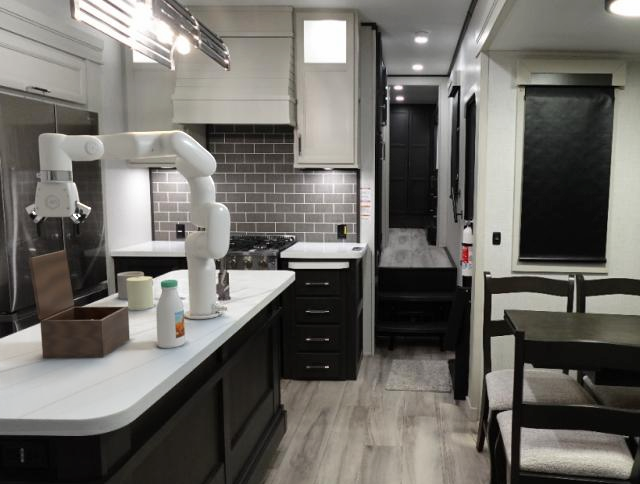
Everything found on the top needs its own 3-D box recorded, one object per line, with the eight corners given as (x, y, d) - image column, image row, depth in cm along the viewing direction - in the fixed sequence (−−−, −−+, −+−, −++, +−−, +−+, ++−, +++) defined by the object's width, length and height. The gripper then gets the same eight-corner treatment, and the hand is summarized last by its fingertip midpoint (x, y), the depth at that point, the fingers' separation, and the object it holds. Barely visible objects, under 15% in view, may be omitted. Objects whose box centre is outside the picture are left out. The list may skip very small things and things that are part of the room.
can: (149, 303, 201) (148, 274, 200) (157, 307, 195) (156, 277, 193) (124, 306, 195) (123, 277, 193) (131, 311, 188) (130, 280, 187)
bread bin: (129, 339, 156) (128, 306, 155) (103, 357, 140) (101, 320, 139) (75, 340, 155) (73, 306, 154) (42, 358, 139) (40, 320, 138)
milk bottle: (167, 350, 147) (164, 284, 145) (152, 345, 151) (149, 281, 149) (190, 343, 153) (188, 280, 151) (175, 338, 157) (173, 277, 155)
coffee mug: (115, 299, 206) (113, 276, 204) (122, 294, 215) (121, 271, 214) (149, 298, 209) (148, 275, 208) (155, 293, 218) (154, 271, 217)
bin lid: (65, 250, 151) (63, 250, 151) (31, 258, 136) (28, 258, 136) (74, 305, 154) (71, 305, 154) (41, 319, 138) (38, 319, 138)
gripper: (15, 176, 137) (19, 237, 139) (81, 177, 138) (84, 238, 140) (33, 176, 144) (37, 234, 146) (95, 178, 146) (98, 235, 148)
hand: (60, 236), depth 143 cm, fingers open, 9 cm apart
